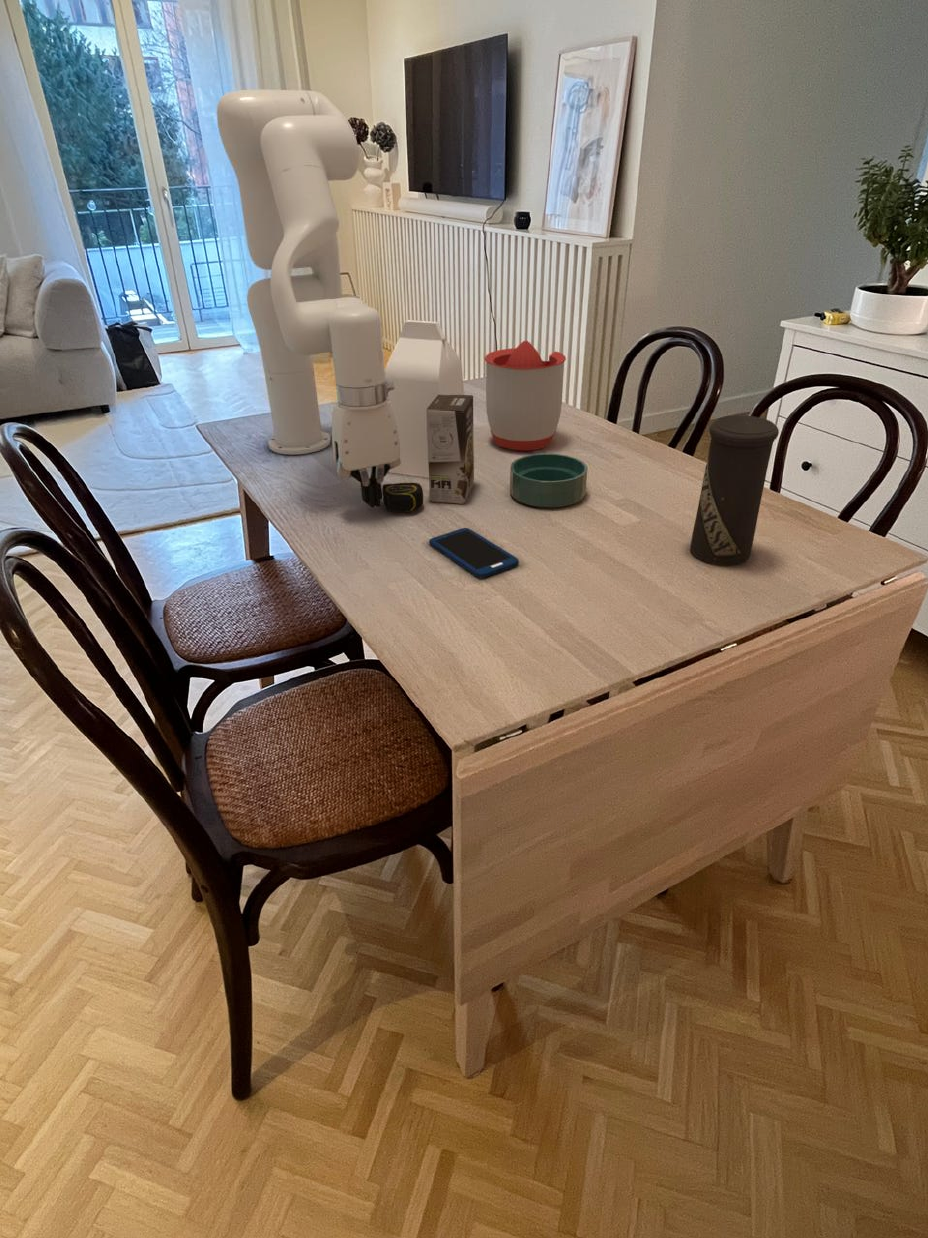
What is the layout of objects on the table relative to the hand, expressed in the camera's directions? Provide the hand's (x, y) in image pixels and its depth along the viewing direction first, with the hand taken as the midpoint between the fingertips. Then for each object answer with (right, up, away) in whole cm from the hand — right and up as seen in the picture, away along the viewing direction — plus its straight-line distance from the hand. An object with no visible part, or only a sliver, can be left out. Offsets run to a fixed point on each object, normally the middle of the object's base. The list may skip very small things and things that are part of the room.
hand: (372, 504), depth 121 cm
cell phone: (+17, -10, -12) cm, 23 cm away
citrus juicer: (+28, +17, +29) cm, 43 cm away
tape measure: (+5, 0, +3) cm, 5 cm away
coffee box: (+13, +3, +7) cm, 15 cm away
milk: (+8, +10, +18) cm, 22 cm away
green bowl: (+30, +3, +6) cm, 31 cm away
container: (+53, -10, -13) cm, 56 cm away
